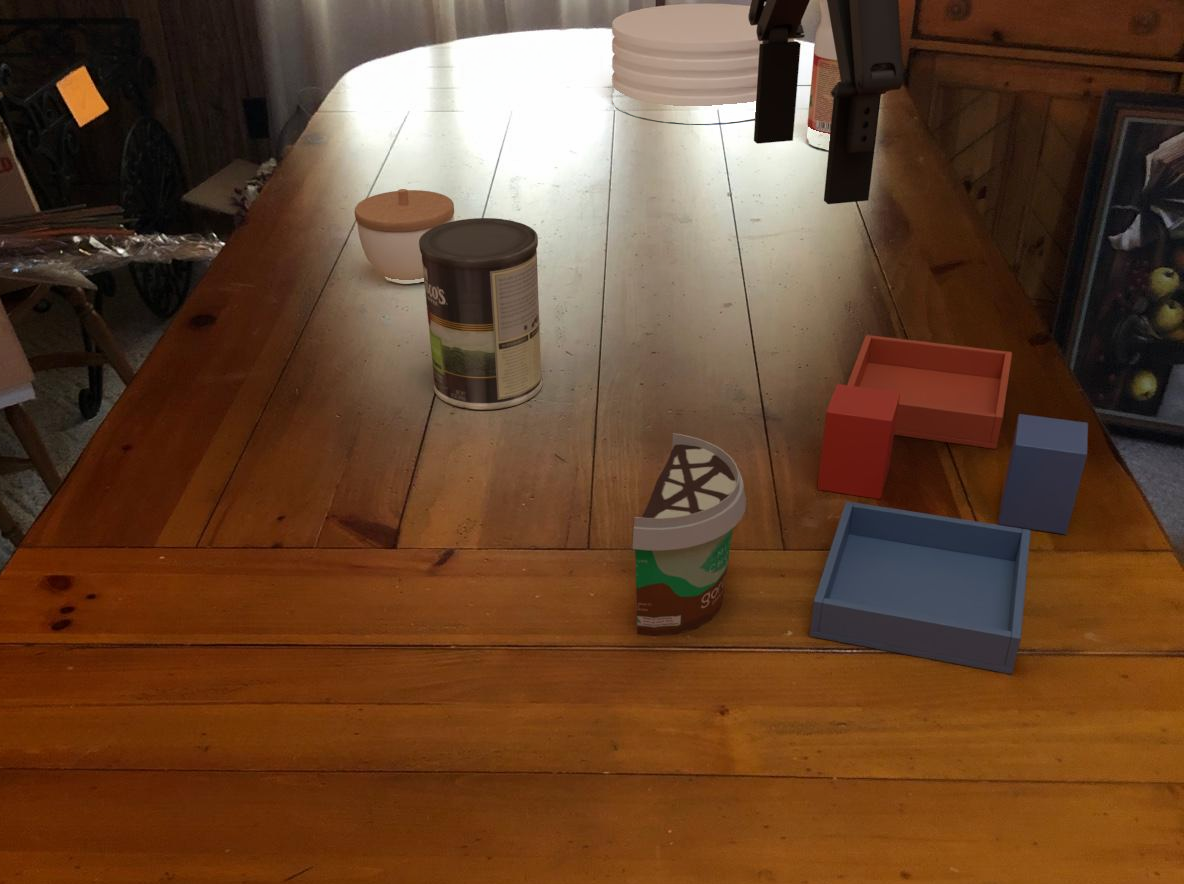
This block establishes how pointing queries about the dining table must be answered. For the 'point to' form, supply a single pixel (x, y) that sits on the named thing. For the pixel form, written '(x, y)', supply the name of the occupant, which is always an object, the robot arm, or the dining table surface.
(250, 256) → the dining table surface
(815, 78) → the fruit juice
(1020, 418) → the blue block
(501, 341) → the coffee can
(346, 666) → the dining table surface
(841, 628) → the blue tray
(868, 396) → the red block
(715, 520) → the food container
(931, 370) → the red tray
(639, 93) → the plate stack
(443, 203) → the trinket box
